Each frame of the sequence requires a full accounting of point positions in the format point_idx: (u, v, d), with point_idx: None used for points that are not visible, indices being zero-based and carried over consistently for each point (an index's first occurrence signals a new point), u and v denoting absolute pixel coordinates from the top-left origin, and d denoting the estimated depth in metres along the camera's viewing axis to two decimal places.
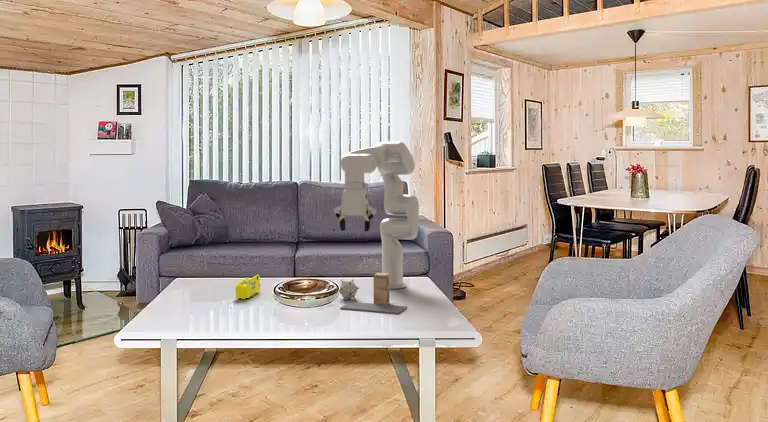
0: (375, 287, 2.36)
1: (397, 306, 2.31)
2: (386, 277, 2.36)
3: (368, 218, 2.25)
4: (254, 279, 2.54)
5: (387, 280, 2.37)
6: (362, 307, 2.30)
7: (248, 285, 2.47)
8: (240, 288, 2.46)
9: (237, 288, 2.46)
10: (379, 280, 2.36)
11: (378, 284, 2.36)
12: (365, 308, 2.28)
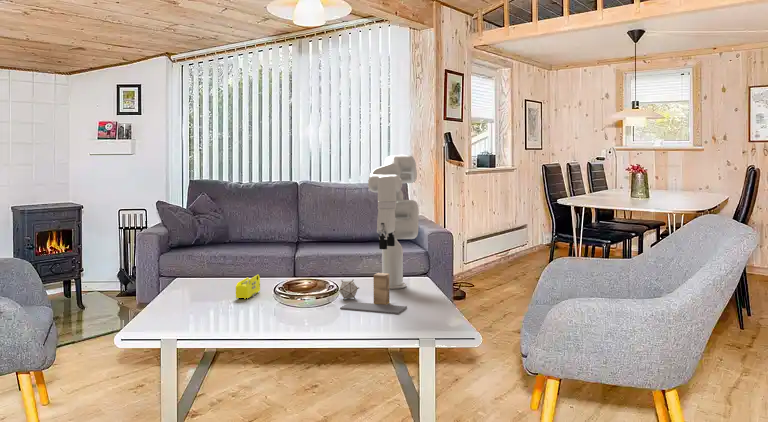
0: (375, 287, 2.36)
1: (397, 306, 2.31)
2: (386, 277, 2.36)
3: (394, 234, 2.48)
4: (254, 279, 2.54)
5: (387, 280, 2.37)
6: (362, 307, 2.30)
7: (248, 285, 2.47)
8: (240, 288, 2.46)
9: (237, 288, 2.46)
10: (379, 280, 2.36)
11: (378, 284, 2.36)
12: (365, 308, 2.28)
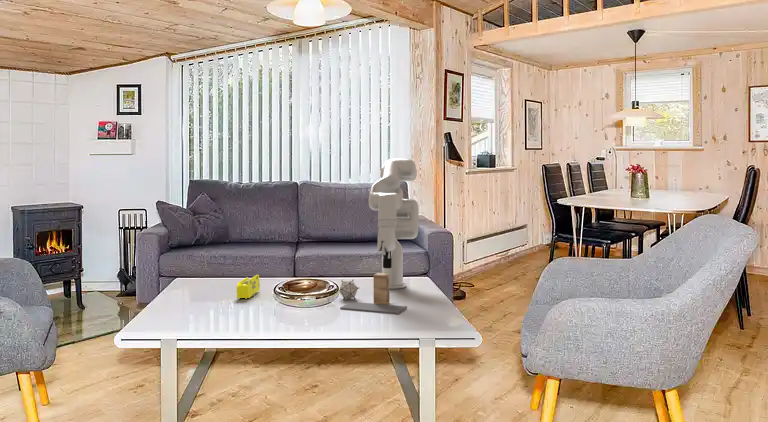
0: (375, 287, 2.36)
1: (397, 306, 2.31)
2: (386, 277, 2.36)
3: (391, 256, 2.45)
4: (254, 279, 2.54)
5: (387, 280, 2.37)
6: (362, 307, 2.30)
7: (249, 285, 2.47)
8: (241, 288, 2.46)
9: (238, 288, 2.46)
10: (379, 280, 2.36)
11: (378, 284, 2.36)
12: (365, 308, 2.28)
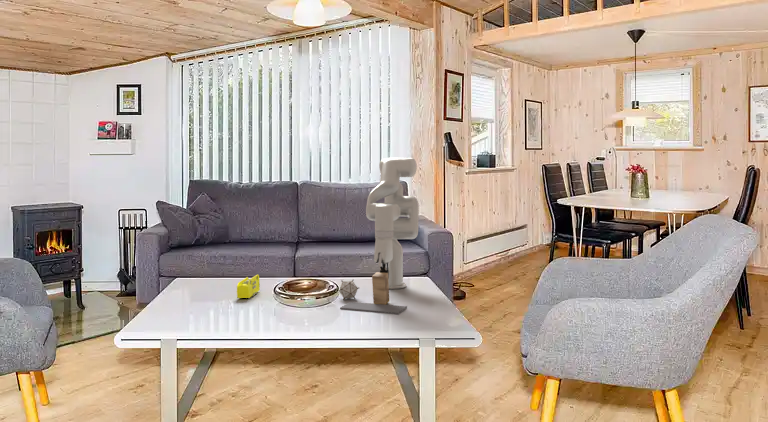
0: (374, 288, 2.36)
1: (397, 306, 2.31)
2: (385, 277, 2.35)
3: (388, 267, 2.42)
4: (254, 279, 2.55)
5: (386, 280, 2.36)
6: (362, 307, 2.30)
7: (249, 285, 2.47)
8: (241, 288, 2.46)
9: (238, 288, 2.46)
10: (378, 281, 2.34)
11: (377, 285, 2.35)
12: (365, 308, 2.28)
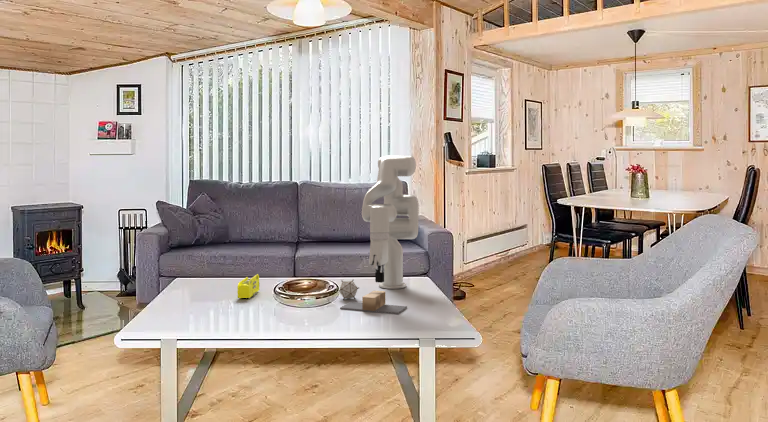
0: None
1: (397, 306, 2.31)
2: (375, 306, 2.25)
3: (384, 270, 2.37)
4: (254, 279, 2.55)
5: (376, 302, 2.26)
6: None
7: (250, 285, 2.48)
8: (242, 288, 2.46)
9: (239, 288, 2.47)
10: None
11: None
12: None
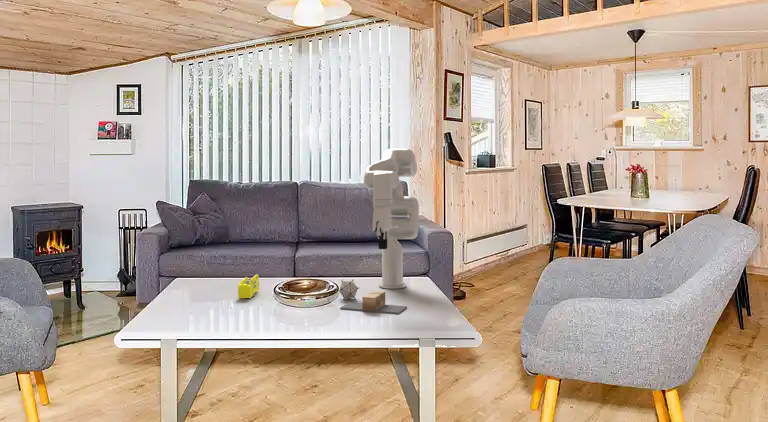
0: None
1: (397, 306, 2.31)
2: (375, 306, 2.25)
3: (387, 237, 2.38)
4: (255, 278, 2.55)
5: (376, 302, 2.26)
6: None
7: (250, 284, 2.48)
8: (243, 288, 2.47)
9: (240, 288, 2.47)
10: None
11: None
12: None
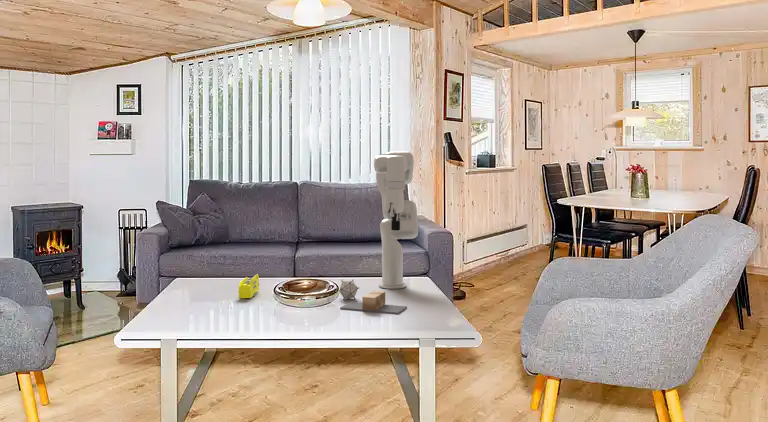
0: None
1: (397, 306, 2.31)
2: (375, 306, 2.25)
3: (400, 218, 2.45)
4: (255, 278, 2.55)
5: (376, 302, 2.26)
6: None
7: (251, 284, 2.48)
8: (243, 288, 2.47)
9: (240, 288, 2.47)
10: None
11: None
12: None
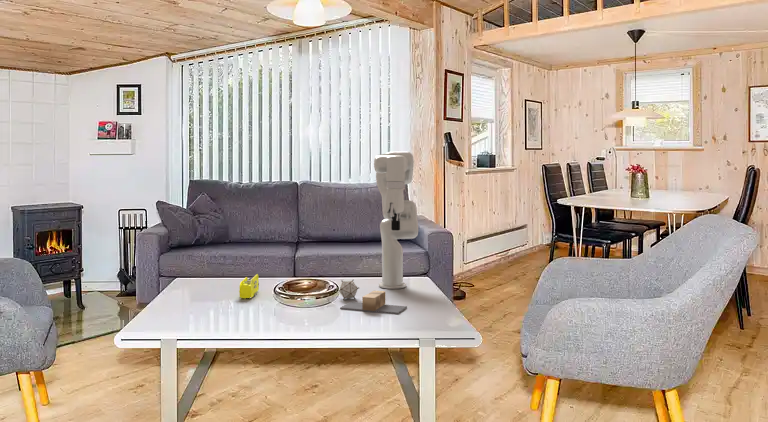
0: None
1: (397, 306, 2.31)
2: (375, 306, 2.25)
3: (400, 218, 2.45)
4: (255, 278, 2.56)
5: (376, 302, 2.26)
6: None
7: (252, 284, 2.48)
8: (244, 287, 2.47)
9: (241, 288, 2.47)
10: None
11: None
12: None
